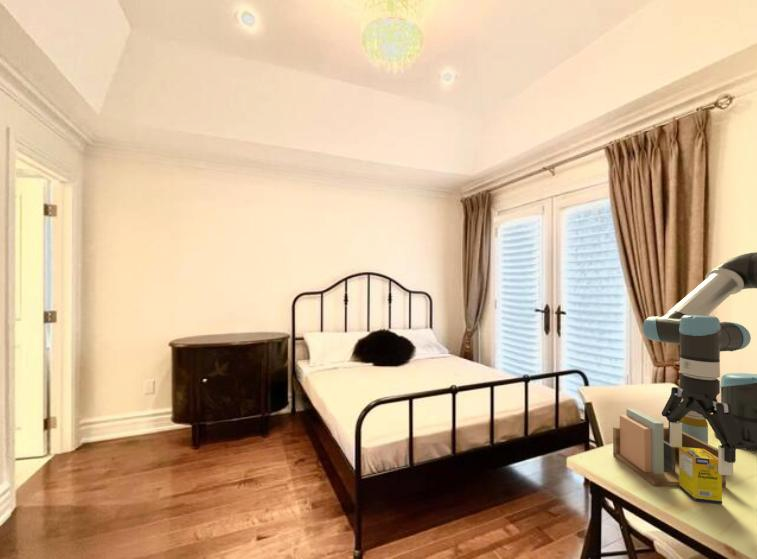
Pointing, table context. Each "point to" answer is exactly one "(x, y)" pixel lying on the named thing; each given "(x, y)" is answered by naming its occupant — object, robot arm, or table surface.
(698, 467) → the supplement box
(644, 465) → the shelved books
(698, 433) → the bottle
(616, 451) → the book rack
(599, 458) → the table surface
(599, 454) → the table surface
